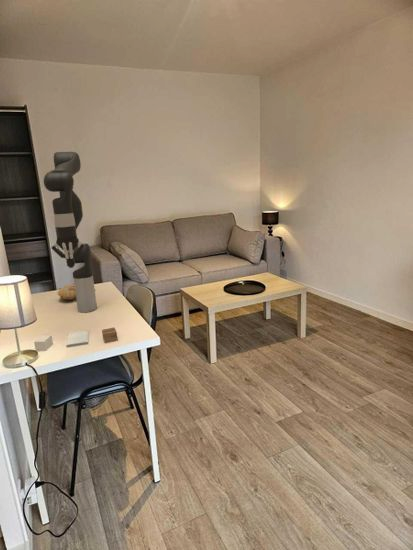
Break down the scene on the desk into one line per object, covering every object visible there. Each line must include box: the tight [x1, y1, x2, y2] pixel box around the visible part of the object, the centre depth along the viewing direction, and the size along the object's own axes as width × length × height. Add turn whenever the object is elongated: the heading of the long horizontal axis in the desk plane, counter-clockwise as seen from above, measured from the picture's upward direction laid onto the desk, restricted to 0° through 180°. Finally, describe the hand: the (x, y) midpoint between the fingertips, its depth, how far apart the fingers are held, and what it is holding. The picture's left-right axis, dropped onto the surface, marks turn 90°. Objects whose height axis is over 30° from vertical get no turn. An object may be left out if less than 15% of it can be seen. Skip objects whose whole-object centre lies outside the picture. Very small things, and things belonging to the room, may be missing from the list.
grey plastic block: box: [33, 334, 54, 352], centre depth 142 cm, size 6×4×4 cm, turn 177°
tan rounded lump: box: [57, 283, 76, 301], centre depth 201 cm, size 8×22×15 cm
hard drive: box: [65, 329, 90, 348], centre depth 148 cm, size 2×8×12 cm
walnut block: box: [101, 327, 119, 344], centre depth 146 cm, size 5×5×4 cm
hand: (71, 267), depth 148 cm, fingers closed
